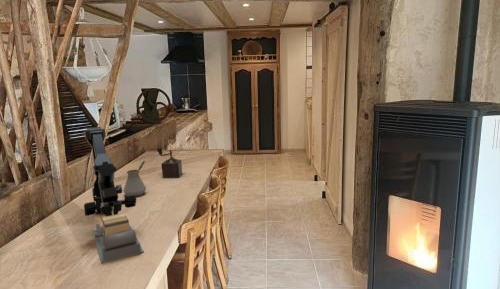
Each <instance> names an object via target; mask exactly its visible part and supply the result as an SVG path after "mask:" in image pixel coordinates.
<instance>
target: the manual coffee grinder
mask: <svg viewBox="0 0 500 289" xmlns="http://www.w3.org/2000/svg"><path fill="white" fill-rule="evenodd" d="M156 152H157V153H158V155H159V157H164V156H165V157H166V156H169V155H170V157H169V158H168V159H165V160H164V161H163V162H162V163H161V164H160V165H161V173H162V179H180V178H181V176H182V175H183V164H182V159H176V158H174V157H173V156H172V155H173V154H172V153H173V152H172V149H170V150H169V153H165V154H164V153H163V147H162V146H158V147H156Z"/></svg>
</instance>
